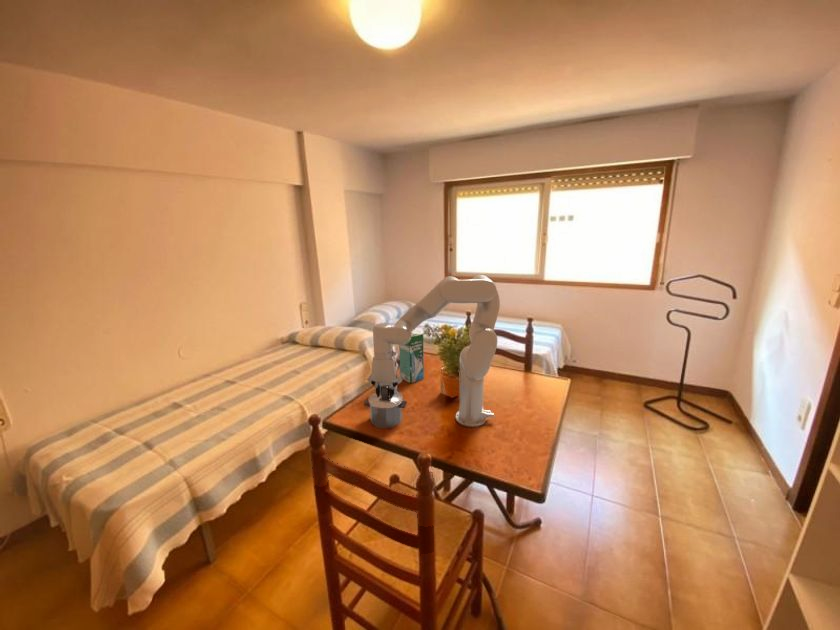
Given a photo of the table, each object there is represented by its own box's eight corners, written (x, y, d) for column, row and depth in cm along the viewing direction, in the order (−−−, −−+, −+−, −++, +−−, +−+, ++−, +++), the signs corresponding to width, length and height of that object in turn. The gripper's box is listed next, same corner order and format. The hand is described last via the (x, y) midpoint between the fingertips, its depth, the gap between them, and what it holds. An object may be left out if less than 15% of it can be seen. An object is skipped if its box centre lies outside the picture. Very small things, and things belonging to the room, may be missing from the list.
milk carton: (413, 373, 186) (412, 329, 180) (423, 378, 179) (423, 333, 173) (400, 377, 181) (398, 333, 174) (410, 383, 174) (409, 337, 168)
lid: (404, 395, 145) (404, 379, 144) (400, 412, 132) (399, 395, 130) (372, 394, 147) (372, 378, 145) (364, 410, 133) (364, 394, 131)
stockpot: (409, 412, 146) (408, 394, 144) (403, 429, 134) (402, 409, 132) (370, 410, 149) (369, 391, 146) (361, 426, 136) (360, 406, 134)
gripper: (406, 352, 137) (407, 393, 141) (365, 350, 139) (368, 390, 143) (402, 358, 129) (403, 401, 134) (360, 357, 132) (362, 399, 136)
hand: (385, 395), depth 139 cm, fingers open, 4 cm apart
